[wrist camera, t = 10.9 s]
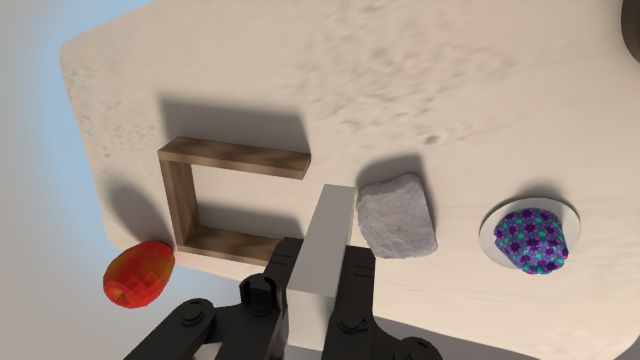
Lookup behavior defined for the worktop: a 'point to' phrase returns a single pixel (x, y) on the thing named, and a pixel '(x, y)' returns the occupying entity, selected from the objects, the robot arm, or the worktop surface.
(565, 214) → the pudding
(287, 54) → the worktop surface
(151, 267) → the apple
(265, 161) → the cubby
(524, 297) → the worktop surface
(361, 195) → the stone block
